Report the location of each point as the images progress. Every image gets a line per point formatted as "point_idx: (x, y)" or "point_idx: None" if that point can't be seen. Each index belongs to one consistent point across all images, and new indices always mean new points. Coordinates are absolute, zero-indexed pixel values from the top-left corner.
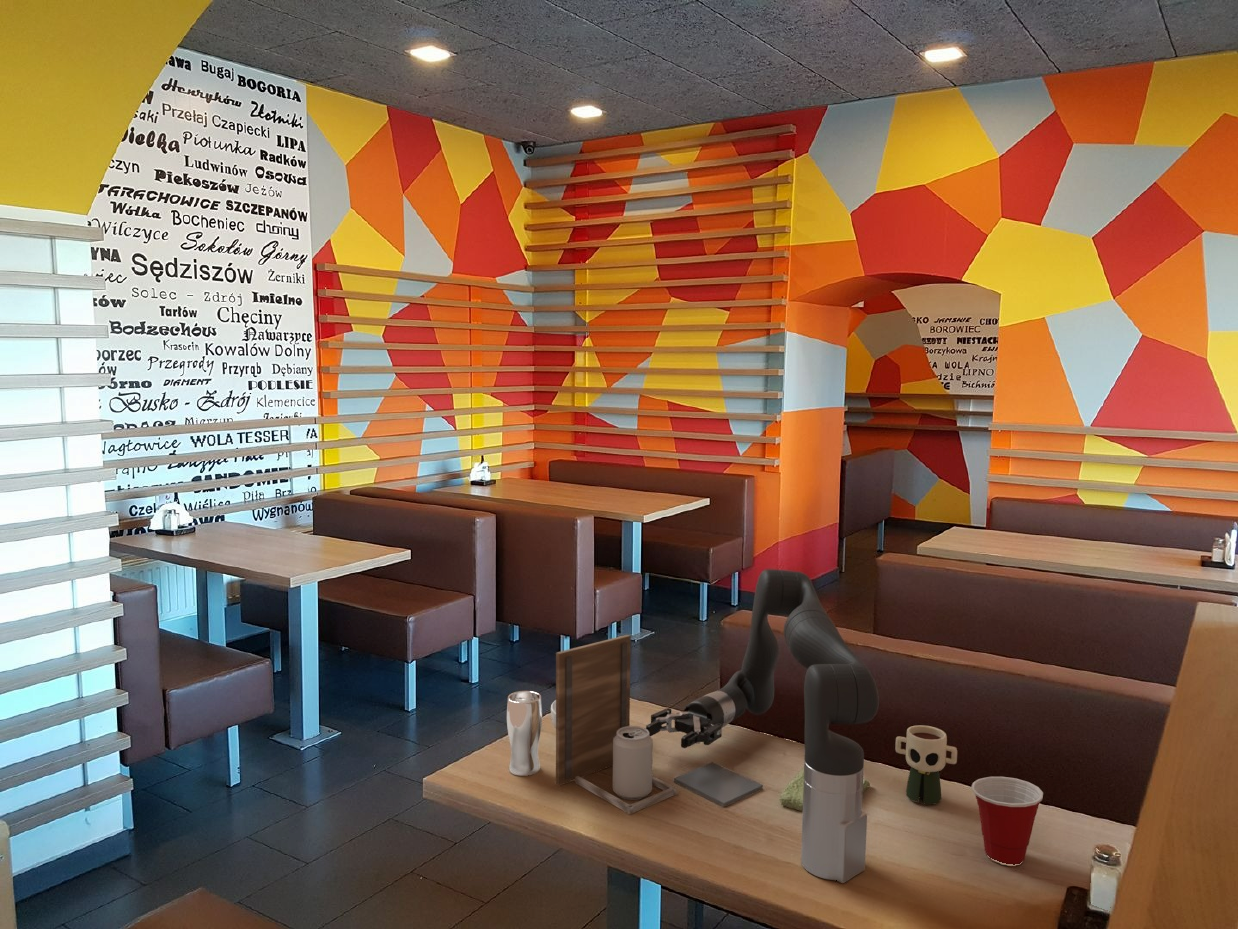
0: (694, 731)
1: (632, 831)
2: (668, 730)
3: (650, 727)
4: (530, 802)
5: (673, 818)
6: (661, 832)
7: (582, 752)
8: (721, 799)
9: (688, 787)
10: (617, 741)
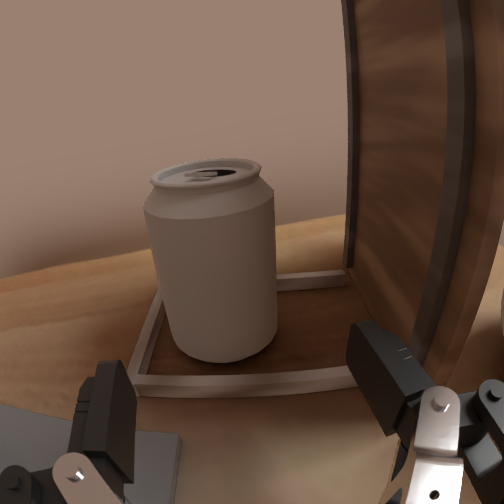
0: (93, 464)
1: (128, 274)
2: (385, 493)
3: (357, 333)
4: (312, 232)
5: (85, 327)
6: (86, 294)
7: (368, 241)
8: (9, 414)
9: None
10: (222, 173)
